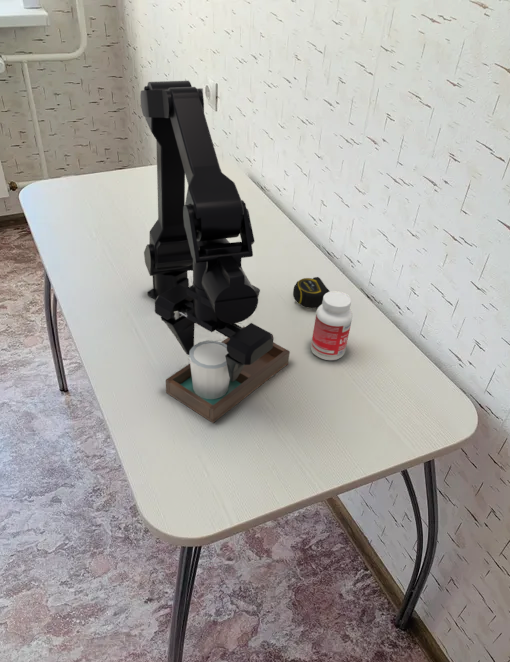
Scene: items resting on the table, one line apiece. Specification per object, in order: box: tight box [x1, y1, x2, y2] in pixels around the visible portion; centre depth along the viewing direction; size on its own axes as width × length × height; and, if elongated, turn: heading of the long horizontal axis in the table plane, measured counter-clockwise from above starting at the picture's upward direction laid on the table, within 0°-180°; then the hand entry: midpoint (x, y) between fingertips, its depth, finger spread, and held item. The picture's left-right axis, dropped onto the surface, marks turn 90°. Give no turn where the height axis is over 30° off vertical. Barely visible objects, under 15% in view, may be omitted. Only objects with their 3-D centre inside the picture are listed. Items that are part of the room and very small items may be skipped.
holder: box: [165, 326, 291, 424], centre depth 102 cm, size 10×19×3 cm, turn 141°
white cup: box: [188, 340, 230, 399], centre depth 97 cm, size 7×7×7 cm
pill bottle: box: [310, 290, 353, 361], centre depth 106 cm, size 6×6×11 cm
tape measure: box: [292, 276, 331, 309], centre depth 120 cm, size 7×7×4 cm
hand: (211, 366), depth 96 cm, fingers open, 9 cm apart
